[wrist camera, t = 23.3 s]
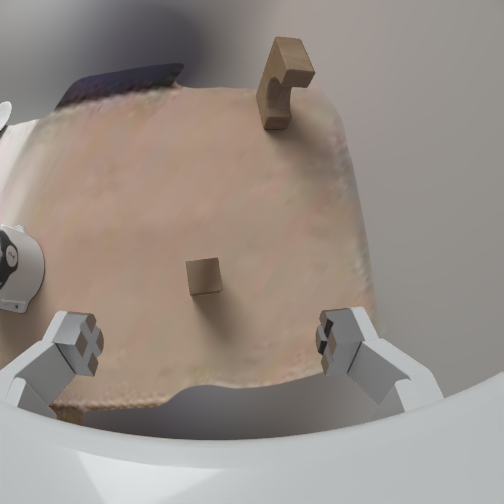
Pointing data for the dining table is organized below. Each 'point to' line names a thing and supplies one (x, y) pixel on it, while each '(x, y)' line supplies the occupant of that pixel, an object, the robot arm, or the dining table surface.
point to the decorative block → (282, 81)
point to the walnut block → (204, 277)
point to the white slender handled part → (4, 113)
